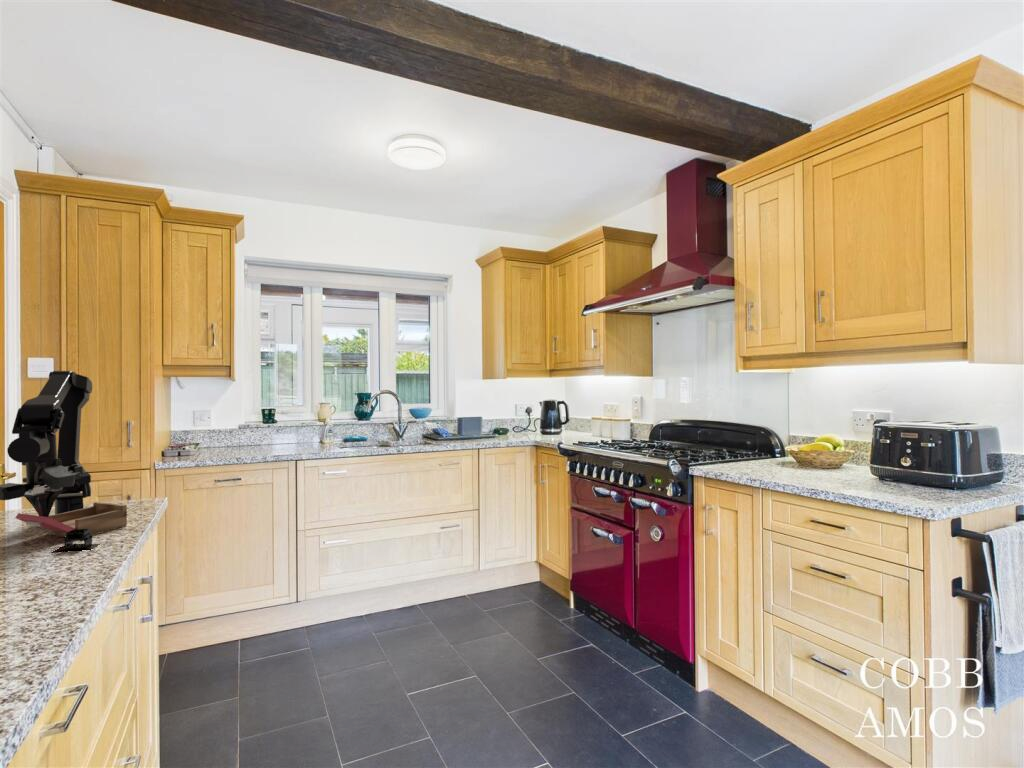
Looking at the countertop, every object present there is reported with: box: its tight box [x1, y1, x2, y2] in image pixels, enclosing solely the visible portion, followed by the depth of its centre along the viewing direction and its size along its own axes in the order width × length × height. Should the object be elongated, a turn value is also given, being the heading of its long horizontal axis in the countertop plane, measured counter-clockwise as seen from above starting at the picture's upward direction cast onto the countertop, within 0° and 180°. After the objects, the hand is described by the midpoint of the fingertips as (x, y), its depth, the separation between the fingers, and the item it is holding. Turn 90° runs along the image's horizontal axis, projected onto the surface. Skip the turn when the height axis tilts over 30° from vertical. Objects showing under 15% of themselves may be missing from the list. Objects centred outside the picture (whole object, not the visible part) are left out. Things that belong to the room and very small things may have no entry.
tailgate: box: [15, 512, 75, 533], centre depth 131 cm, size 10×2×8 cm
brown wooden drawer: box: [46, 501, 128, 537], centre depth 140 cm, size 11×12×6 cm
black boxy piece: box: [50, 529, 101, 554], centre depth 125 cm, size 12×7×5 cm, turn 104°
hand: (44, 520), depth 131 cm, fingers closed, pressing on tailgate
